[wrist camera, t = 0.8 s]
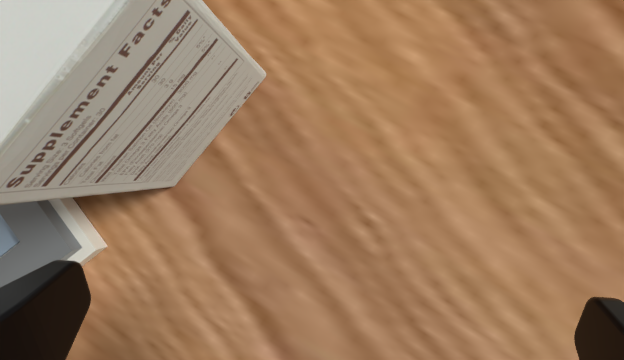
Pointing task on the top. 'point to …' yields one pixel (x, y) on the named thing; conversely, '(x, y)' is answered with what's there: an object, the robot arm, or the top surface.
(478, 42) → the top surface
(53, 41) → the supplement box
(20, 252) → the grey square tray
